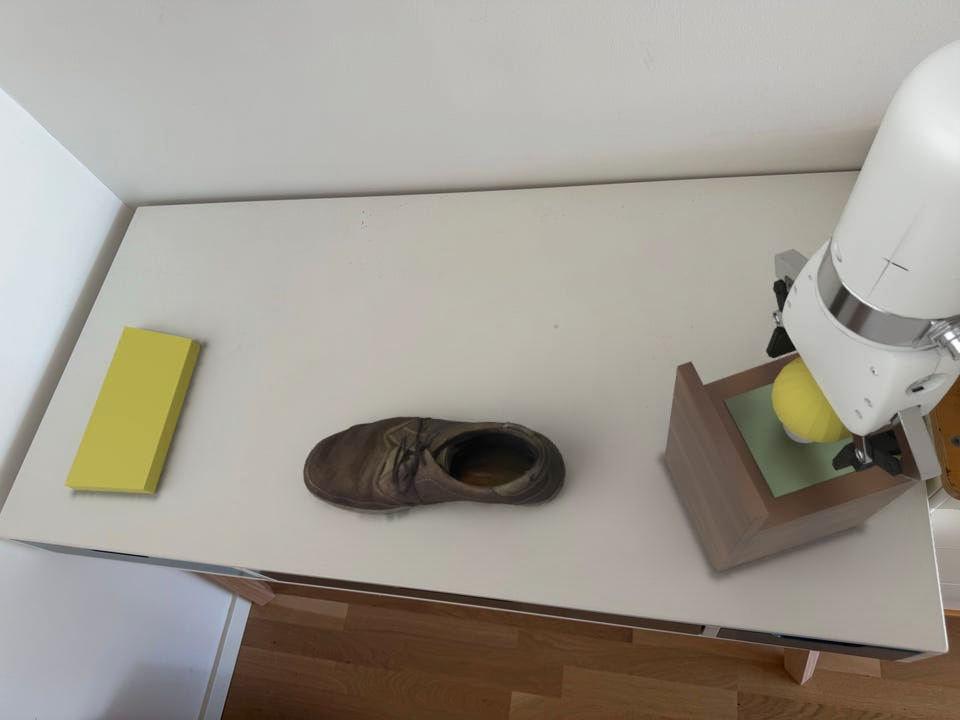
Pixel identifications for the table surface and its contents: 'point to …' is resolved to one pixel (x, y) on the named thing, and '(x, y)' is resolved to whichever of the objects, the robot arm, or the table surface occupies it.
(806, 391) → the light bulb
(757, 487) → the wooden frame
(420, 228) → the table surface
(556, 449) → the shoe
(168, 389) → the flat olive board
